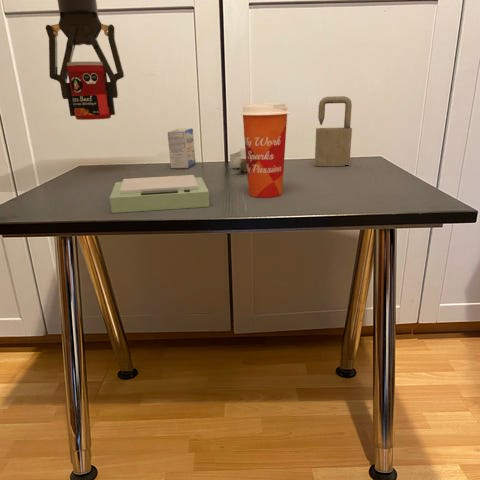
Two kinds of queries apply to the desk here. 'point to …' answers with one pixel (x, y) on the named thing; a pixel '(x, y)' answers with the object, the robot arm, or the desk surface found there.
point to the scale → (159, 194)
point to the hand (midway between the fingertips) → (93, 115)
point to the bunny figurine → (239, 159)
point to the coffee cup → (265, 147)
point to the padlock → (333, 137)
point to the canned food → (89, 90)
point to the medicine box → (181, 148)
